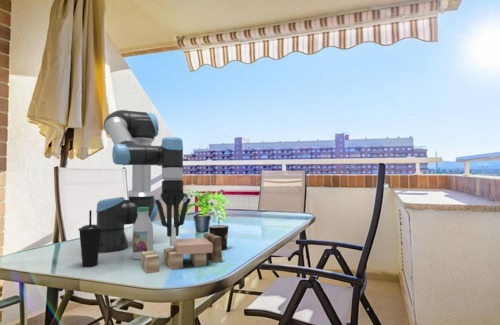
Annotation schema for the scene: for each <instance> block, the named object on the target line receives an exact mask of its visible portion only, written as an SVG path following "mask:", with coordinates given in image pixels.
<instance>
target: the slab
mask: <svg viewBox="0 0 500 325" xmlns="http://www.w3.org/2000/svg"><path fill="white" fill-rule="evenodd" d="M173 248H174V249H175V251H176V252H177V254H178V255H179V254H183V255H190V254H196V253H212V252H213V244H212V243H211V242H210V241H209V240H207V239H206V238H204V237H189V238H187V237H186V238H185V237H184V238H176V246H173Z"/></svg>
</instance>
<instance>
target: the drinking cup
mask: <svg viewBox="0 0 500 325" xmlns="http://www.w3.org/2000/svg"><path fill="white" fill-rule="evenodd" d="M88 211H89V213H88V215H89V219H88V223H89V224H85V225H83V226H81V227H79V228H78V231H79V240H80V252H81V253H80V254H81V263H82V267H83V268H92V267H96V266H98V264H99V254H100V252H99V244H100V234H101V229H102V227H100V226H98V225H97V224H93V223H92V210H88Z"/></svg>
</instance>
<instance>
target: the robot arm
mask: <svg viewBox="0 0 500 325" xmlns="http://www.w3.org/2000/svg"><path fill="white" fill-rule="evenodd" d="M103 121H104V122H103V128H104V132H105V133H106V135H108V136H109V137H110V139H111V141H112V143H113V147H112V151H111V152H112V162H113V163H114V164H115V165H117V166H118V165H121V166H131V167H132V169H131V170H132V172H131V173H132V175H131V176H132V177H131V178H132V179H131V186H132V187H131V193H130V194H129V195H128V199H125V197H124V196H120V197H119V196H117V197H112V198H106V199H102V200H101V199H100V200H99V201H98V202H97V203H96V225H98V226H100V227H102V229H101V234H100V244H99V254H100V253H114V252H121V251H124V250H127V249H128V248H129V241H128V238H127V235H126V232H125V226H126V225H134V224H135V222H136V219H137V216H138V213H137V208H138V207H149V213H148V214H149V218H150V220H151V222H152V223H153V222H154V221H155V219H156V217H157V215H159V219H160V223H161V226H163V227H166V235H167V237H168V238H169V246H170V247H174V246H176V239H177V237H178V236H179V234H180V233H179V228H180V226H183V225H184V224H185V219H186V214H187V210H188V205H189V204H190V202H191V198H188V197H187V196H186V195H185V193H184V181H183V178H184V142H183V139H182V138H181V137H178V136H177V137H175V136H167V137H163V138H162V139H161V144H160V145H152V143H153V142H154V141H155V138H156V137H158V135H159V131H160V130H159V122H158V118H157V116H156V115H155V114H154V113H152V112H146V111H135V110H125V109H121V110H119V109H118V110H115V111H113V112H111V113H109V114H108V115H107V116H106V117H105V119H104V120H103ZM152 166H158V167H161V179H162V180H161V193H160V196H159V197H158V198H155V195H154V193H153V192H152V190H151V188H152V184H151V182H152ZM181 202H182V206H181V211H180V210H179V209H180V204H181ZM162 203H164V204H165V206H166V217H165V212H164V208H163V204H162ZM172 211H173V212H172ZM172 218H173V219H172ZM172 220H173V222H172Z"/></svg>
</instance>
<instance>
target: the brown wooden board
mask: <svg viewBox="0 0 500 325" xmlns="http://www.w3.org/2000/svg"><path fill="white" fill-rule="evenodd" d="M203 238H206V239H207V240H209V241H210V242H211V243H212V244H213V252H212V253H206V259H208V260H209V261H212V262H213V263H215V264H218V263H222V261H223V255H222V254H223V250H222V241H221V237H220V236H217V235H214V234H211V233H210V232H208V233H207V232H206V233H203Z"/></svg>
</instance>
